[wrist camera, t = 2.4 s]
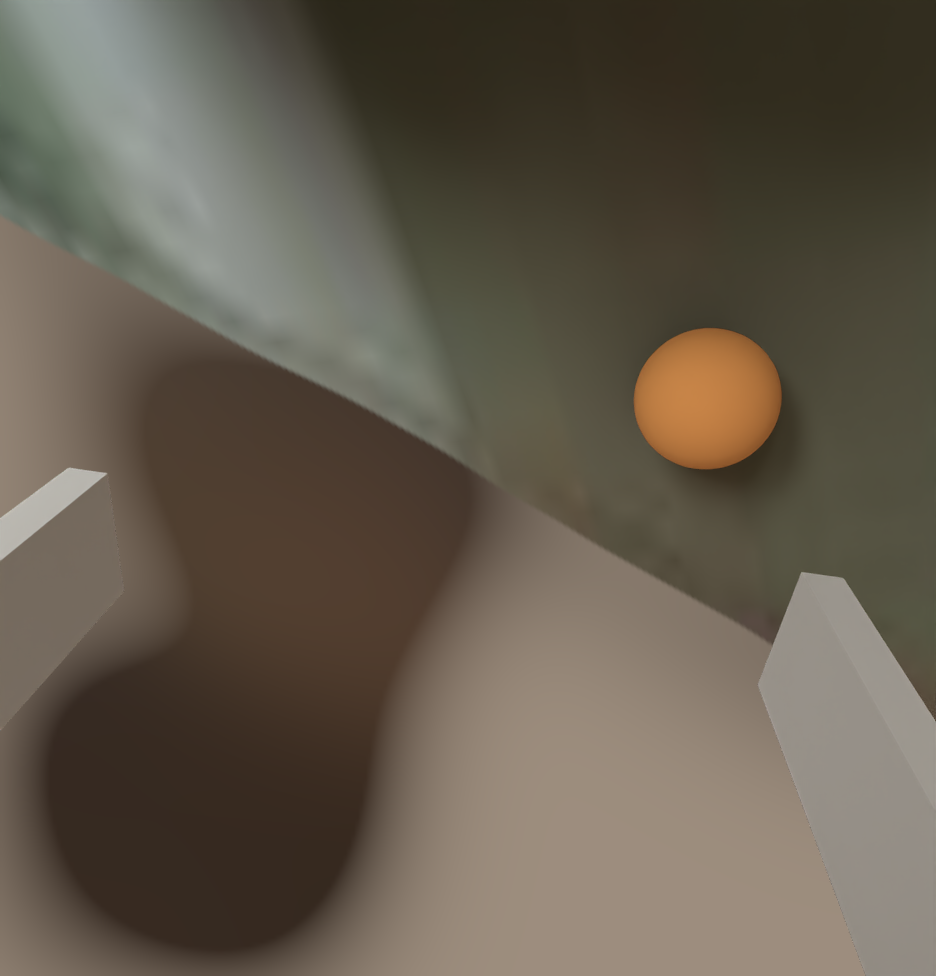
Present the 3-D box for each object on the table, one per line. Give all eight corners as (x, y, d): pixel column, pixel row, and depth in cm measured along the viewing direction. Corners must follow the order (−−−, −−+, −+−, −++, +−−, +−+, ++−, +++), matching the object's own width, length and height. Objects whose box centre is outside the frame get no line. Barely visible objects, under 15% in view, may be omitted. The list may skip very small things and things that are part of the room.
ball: (614, 424, 32) (626, 480, 27) (645, 302, 30) (665, 339, 25) (736, 445, 32) (770, 505, 27) (779, 324, 30) (825, 366, 25)
